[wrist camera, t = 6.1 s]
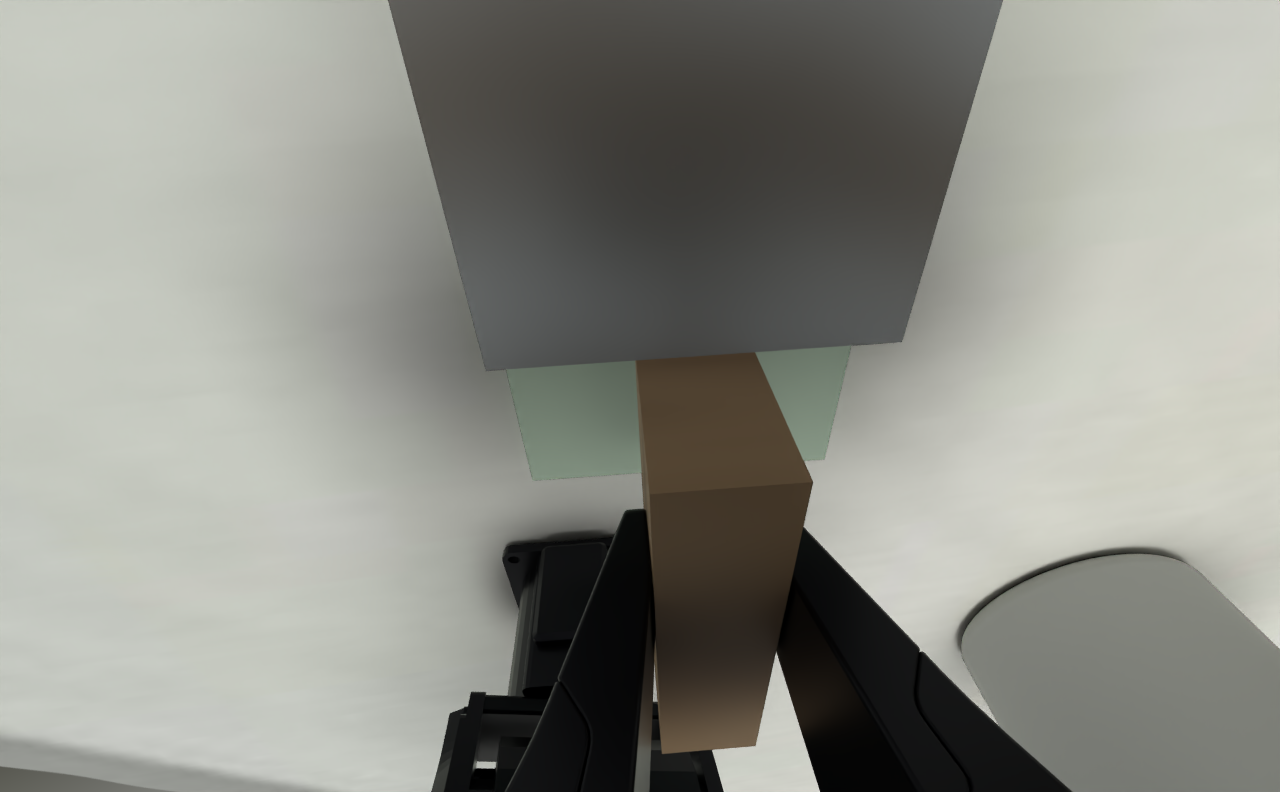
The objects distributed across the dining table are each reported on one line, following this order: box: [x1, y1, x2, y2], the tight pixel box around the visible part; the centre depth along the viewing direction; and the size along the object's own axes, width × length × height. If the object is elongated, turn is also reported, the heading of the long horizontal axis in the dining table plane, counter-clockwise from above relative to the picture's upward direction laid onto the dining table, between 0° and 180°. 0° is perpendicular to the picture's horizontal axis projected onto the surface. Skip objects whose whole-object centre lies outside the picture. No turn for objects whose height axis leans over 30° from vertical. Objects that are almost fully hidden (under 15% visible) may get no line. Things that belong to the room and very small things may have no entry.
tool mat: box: [506, 346, 851, 481], centre depth 15 cm, size 18×11×1 cm, turn 3°
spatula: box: [388, 0, 1003, 754], centre depth 9 cm, size 14×7×4 cm, turn 2°
